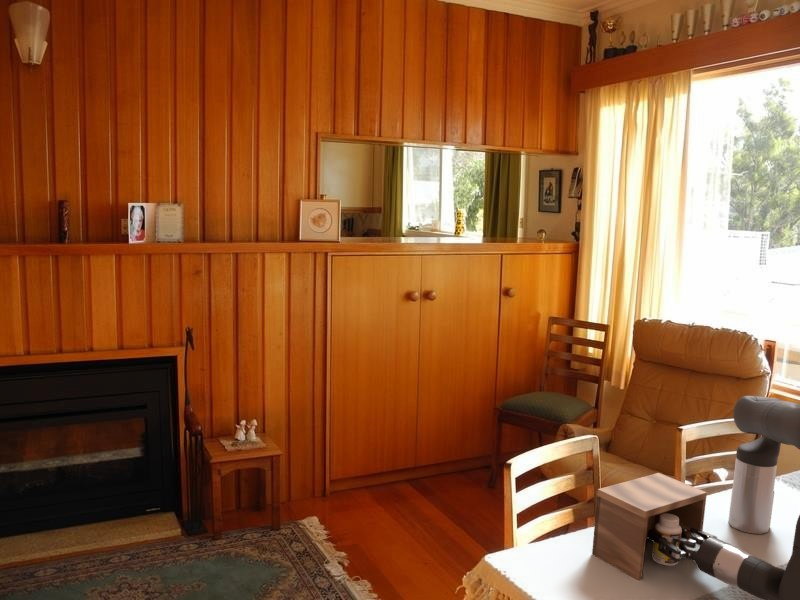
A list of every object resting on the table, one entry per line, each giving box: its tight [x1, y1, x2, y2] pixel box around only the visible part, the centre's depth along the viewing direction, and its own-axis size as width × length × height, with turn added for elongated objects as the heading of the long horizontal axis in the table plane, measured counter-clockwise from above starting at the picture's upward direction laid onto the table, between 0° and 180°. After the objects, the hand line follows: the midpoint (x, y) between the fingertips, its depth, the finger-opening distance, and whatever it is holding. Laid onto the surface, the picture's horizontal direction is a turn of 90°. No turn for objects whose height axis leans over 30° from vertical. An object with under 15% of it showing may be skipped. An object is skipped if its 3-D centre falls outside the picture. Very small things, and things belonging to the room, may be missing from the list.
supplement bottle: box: [651, 513, 682, 567], centre depth 167 cm, size 6×6×10 cm
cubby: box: [591, 472, 708, 581], centre depth 171 cm, size 21×13×16 cm, turn 124°
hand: (658, 530), depth 169 cm, fingers closed on supplement bottle, 5 cm apart
